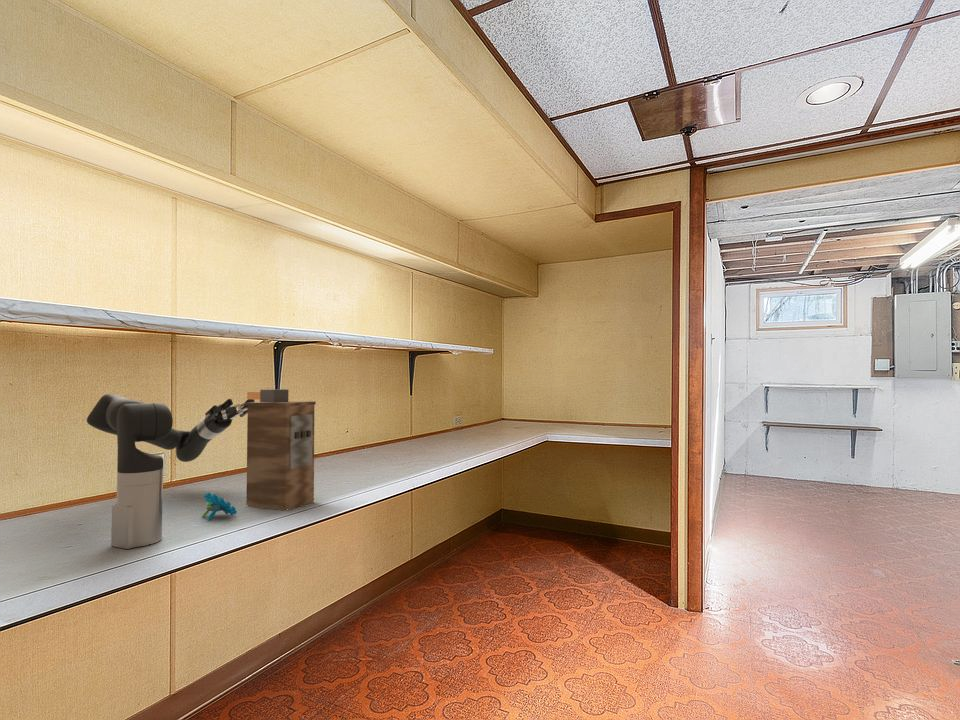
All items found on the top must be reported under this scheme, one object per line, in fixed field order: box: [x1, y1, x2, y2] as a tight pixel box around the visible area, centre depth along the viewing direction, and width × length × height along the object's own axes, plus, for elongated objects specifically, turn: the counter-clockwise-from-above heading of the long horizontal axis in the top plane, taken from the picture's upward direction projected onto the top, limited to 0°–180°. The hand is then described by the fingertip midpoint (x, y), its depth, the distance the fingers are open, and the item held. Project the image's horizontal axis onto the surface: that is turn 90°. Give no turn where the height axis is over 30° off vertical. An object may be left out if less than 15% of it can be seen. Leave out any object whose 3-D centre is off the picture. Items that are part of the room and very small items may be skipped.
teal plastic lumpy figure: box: [201, 492, 238, 521], centre depth 141 cm, size 11×6×10 cm
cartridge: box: [246, 388, 290, 403], centre depth 162 cm, size 5×18×4 cm, turn 53°
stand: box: [244, 400, 317, 511], centre depth 158 cm, size 13×18×32 cm
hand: (242, 400), depth 166 cm, fingers open, 8 cm apart
